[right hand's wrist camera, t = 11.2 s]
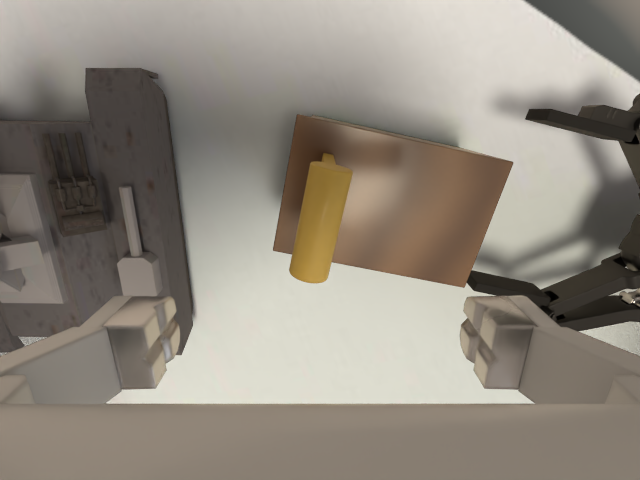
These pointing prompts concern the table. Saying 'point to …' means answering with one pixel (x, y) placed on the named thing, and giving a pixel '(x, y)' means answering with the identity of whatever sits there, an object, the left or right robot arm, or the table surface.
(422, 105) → the table surface
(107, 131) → the toy
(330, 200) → the lid
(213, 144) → the table surface
